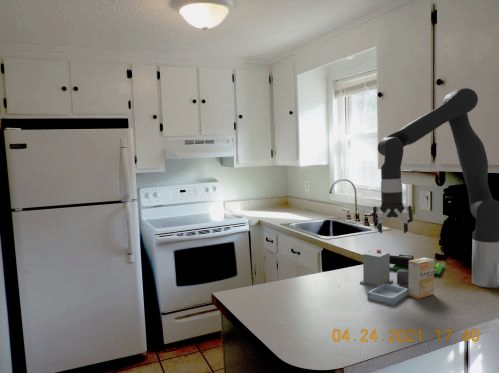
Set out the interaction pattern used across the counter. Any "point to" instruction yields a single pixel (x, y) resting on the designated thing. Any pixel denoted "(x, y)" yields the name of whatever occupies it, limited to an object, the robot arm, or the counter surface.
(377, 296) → the tray
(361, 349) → the counter surface
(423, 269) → the supplement box
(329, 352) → the counter surface
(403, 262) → the electronic board model
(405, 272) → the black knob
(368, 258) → the control box
